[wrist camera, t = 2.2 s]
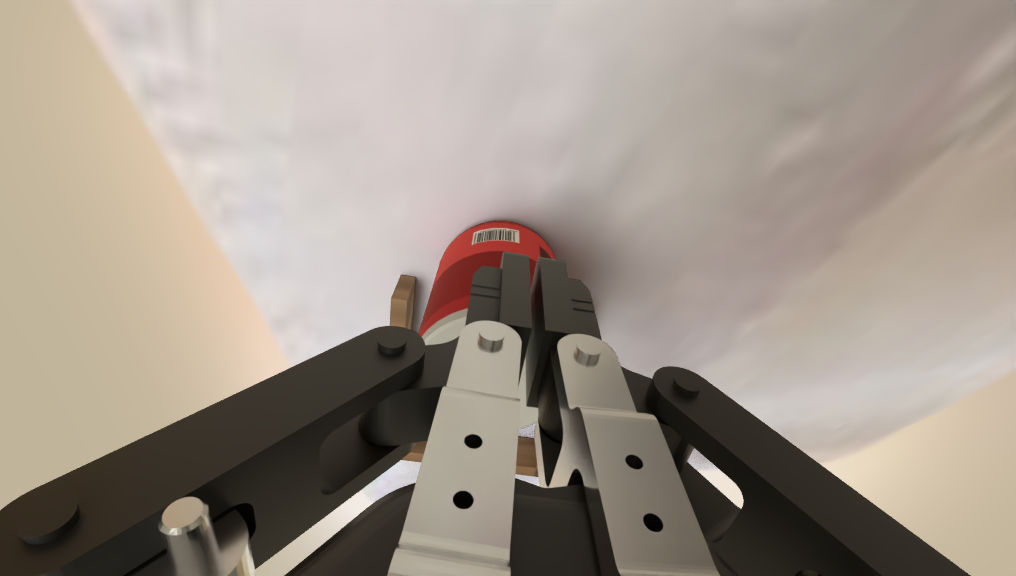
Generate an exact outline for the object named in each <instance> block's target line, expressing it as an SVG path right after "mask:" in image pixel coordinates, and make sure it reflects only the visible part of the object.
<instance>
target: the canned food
mask: <svg viewBox="0 0 1016 576" xmlns="http://www.w3.org/2000/svg"><path fill="white" fill-rule="evenodd" d="M503 251H504V252H511V253H517V254H524V255H529V266H530V290H531V285H532V281H533V276H534V271H535V267H536V263H537V259H538V257H543V258H550V259H555V256H554V254H553V252H552V250H551V249H550V247H549V246H548V244H547V243H546V242H545V241H544V240H543V239H542V238H541V237H540V236H539V235H538V234H536V233H535V232H534V231H532V230H530V229H529V228H527V227H525V226H522V225H519V224H517V223H512V222H506V221H493V222H488V223H482V224H480V225H477V226H474V227H472V228H470V229H469V230H467V231H465V232H464V233H462V234H461V235H459V236H458V237H457V238H456V239H455V240H454V241H453V242H452V243H451V244H450V245H449V247H448V248H447V249H446V251H445V252H444V254H443V257H442V259H441V261H440V265H439V268H438V271H437V274H436V278H435V281H434V284H433V288H432V291H431V294H430V297H429V301H428V304H427V307H426V311H425V314H424V317H423V320H422V324H421V327H420V330H419V335H420V336H421V337H422V338H423V340H424V342H425V345H433V344H442V343H446V342H449V341H452V340H454V339H455V338H457V337H458V336H460V333H461V331H462V329H463V328H464V327H465V323H466V317H467V311H468V305H469V298H470V292H471V286H472V280H473V274H474V273H475V272H476V271H477V270H478V269H479V268H480V267H481V266H489V267H495V268H500V266H501V260H502V255H503ZM517 399H520V417H519V429H522V428H525V427H528V426H530V425H532V424H534V423H536V422H537V419H538V408H534V407H527V406H526V360H524V365H523V369H522V373H521V378H520V382H519V386H518V395H517Z"/></svg>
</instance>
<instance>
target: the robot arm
mask: <svg viewBox="0 0 1016 576" xmlns="http://www.w3.org/2000/svg"><path fill="white" fill-rule="evenodd" d="M594 312H595V310H594V306H593V304H592V298H591V294H590V291H589V290H588V289H587V287H586V286H585V285H584V284H583V283H582V282H581V281H580V280H574V279H568V277H567V271H566V266H565V261H563V260H556V259H550V258H543V257H538V259H537V263H536V267H535V271H534V276H533V281H532V285H531V290H530V266H529V255H524V254H517V253H511V252H504V251H503V255H502V260H501V266H500V268H495V267H489V266H481V267H480V268H479V269H478V270H477V271H476V272H475V273H474V274H473V280H472V286H471V292H470V298H469V305H468V311H467V317H466V323H465V327H464V328H463V329H462V331H461V333H460V336H458V337H457V338H455V339H454V340H452V341H449V342H446V343H442V344H433V345H425V342H424V340H423V338H422V337H421V336H420V335H419V334H417V333H416V332H414V331H413V330H410V329H408V328H404V327H399V326H384V327H378V328H375V329H372V330H370V331H368V332H365V333H363V334H361V335H359V336H357V337H355V338H353V339H351V340H349V341H346V342H344V343H342V344H340V345H338V346H336V347H334V348H332V349H329V350H327V351H325V352H323V353H321V354H319V355H317V356H315V357H313V358H310V359H308V360H306V361H304V362H302V363H300V364H298V365H296V366H293V367H291V368H289V369H287V370H285V371H283V372H281V373H279V374H277V375H275V376H273V377H270V378H268V379H266V380H264V381H262V382H260V383H258V384H255V385H253V386H251V387H249V388H247V389H245V390H243V391H241V392H239V393H236V394H234V395H232V396H230V397H228V398H226V399H224V400H221V401H219V402H217V403H215V404H213V405H211V406H209V407H207V408H205V409H202V410H200V411H198V412H196V413H194V414H192V415H190V416H188V417H186V418H183V419H181V420H180V421H177V422H175V423H173V424H171V425H169V426H166V427H164V428H162V429H161V430H158V431H156V432H154V433H152V434H150V435H147V436H145V437H143V438H141V439H139V440H137V441H135V442H133V443H131V444H128V445H126V446H124V447H122V448H120V449H118V450H116V451H113V452H112V453H109V454H107V455H105V456H103V457H101V458H99V459H97V460H94V461H92V462H90V463H88V464H86V465H84V466H82V467H80V468H77V469H76V470H73V471H71V472H69V473H67V474H65V475H63V476H61V477H58V478H57V479H54V480H52V481H50V482H48V483H46V484H44V485H41V486H39V487H37V488H35V489H33V490H31V491H29V492H27V493H26V494H24V495H22V496H20V497H18V498H17V499H16V500H14V501H12V502H11V503H9V504H8V505H7V506H5V507H4V508H3V509H1V510H0V576H255V569H256V568H258V567H259V566H260V565H262V564H263V563H264V562H265V561H267V560H268V559H270V558H271V557H272V556H274V555H275V554H276V553H278V552H279V551H280V550H282V549H283V548H284V547H286V546H287V545H288V544H289V543H291V542H292V541H294V540H295V539H296V538H297V537H299V536H300V535H301V534H303V533H304V532H305V531H307V530H308V529H309V528H311V527H312V526H313V525H315V524H316V523H317V522H319V521H320V520H321V519H323V518H324V517H325V516H327V515H328V514H329V513H331V512H332V511H333V510H335V509H336V508H337V507H339V506H340V505H341V504H343V503H344V502H345V501H347V500H348V499H349V498H351V497H352V496H353V495H354V494H356V493H357V492H359V491H360V490H361V489H363V488H364V487H365V486H367V485H368V484H369V483H371V482H372V481H373V480H375V479H376V478H377V477H379V476H380V475H381V474H383V473H384V472H385V471H387V470H388V469H389V468H391V467H392V466H393V465H395V464H396V463H397V462H399V461H400V460H401V459H403V458H404V457H405V456H407V455H408V454H409V453H410V452H411V451H412V450H413V448H414V446H415V445H416V442H423V441H427V445H426V448H425V452H424V456H423V459H422V463H421V466H420V470H419V474H418V477H417V481H416V483H413V484H410V485H407V486H404V487H402V488H399V489H397V490H395V491H393V492H391V493H389V494H387V495H385V496H384V497H382V498H381V499H379V500H377V501H376V502H374V503H373V504H372V505H371V506H369V507H368V508H366V509H365V510H364V511H363V512H362V513H360V514H359V515H358V516H357V517H356V518H354V519H353V520H352V521H351V522H349V523H348V524H347V525H346V526H344V527H343V528H342V529H341V530H340V531H338V532H337V533H336V534H335V535H333V536H332V537H331V538H330V539H329V540H327V541H326V542H325V543H324V544H323V545H321V546H320V547H319V548H318V549H316V550H315V551H314V552H313V553H312V554H310V555H309V556H308V557H307V558H306V559H304V560H303V561H302V562H301V563H299V564H298V565H297V566H296V567H295V568H293V569H292V570H291V571H290V572H288V573H287V574H286V575H285V576H970V575H969V574H968V573H966V572H965V571H964V570H962V569H960V568H959V567H958V566H957V565H955V564H954V563H953V562H951V561H950V560H949V559H947V558H946V557H945V556H943V555H942V554H940V553H939V552H938V551H936V550H935V549H934V548H932V547H931V546H929V545H928V544H927V543H926V542H924V541H923V540H922V539H920V538H919V537H917V536H916V535H915V534H913V533H912V532H911V531H909V530H908V529H907V528H905V527H904V526H903V525H901V524H900V523H899V522H897V521H896V520H895V519H893V518H892V517H890V516H889V515H888V514H886V513H885V512H883V511H882V510H881V509H880V508H878V507H877V506H876V505H874V504H873V503H871V502H870V501H869V500H867V499H866V498H865V497H863V496H862V495H861V494H859V493H858V492H857V491H855V490H854V489H853V488H851V487H850V486H849V485H847V484H846V483H844V482H843V481H842V480H840V479H839V478H838V477H836V476H835V475H834V474H832V473H831V472H829V471H828V470H827V469H826V468H824V467H823V466H822V465H820V464H819V463H817V462H816V461H815V460H813V459H812V458H811V457H809V456H808V455H807V454H805V453H804V452H803V451H801V450H800V449H799V448H797V447H796V446H794V445H793V444H792V443H790V442H789V441H788V440H786V439H785V438H784V437H782V436H781V435H780V434H778V433H777V432H776V431H774V430H773V429H771V428H770V427H769V426H767V425H766V424H765V423H763V422H762V421H761V420H759V419H758V418H757V417H755V416H754V415H753V414H751V413H750V412H748V411H747V410H746V409H744V408H743V407H742V406H740V405H739V404H738V403H736V402H735V401H734V400H732V399H731V398H730V397H728V396H727V395H725V394H724V393H723V392H721V391H720V390H719V389H717V388H716V387H715V386H713V385H712V384H711V383H709V382H708V381H707V380H705V379H704V378H702V377H701V376H699V375H698V374H696V373H694V372H692V371H689V370H687V369H684V368H679V367H663V368H660V369H658V370H657V371H656V372H655V374H654V376H653V378H652V379H651V378H648V377H645V376H643V375H640V374H637V373H634V372H632V371H629V370H627V369H625V368H623V367H622V366H620V363H619V360H618V358H617V355H616V353H615V351H614V350H613V349H612V348H611V347H610V346H609V345H608V344H607V343H605V342H604V341H602V339H601V335H600V331H599V327H598V323H597V319H596V314H595V313H594ZM524 360H526V406H527V407H534V408H538V419H537V422H536V426H535V430H534V438H535V448H536V457H537V467H538V476H539V486H540V487H539V486H536V485H533V484H531V483H528V482H525V481H522V480H519V479H516V478H515V472H516V458H517V445H518V431H519V417H520V399H517V395H518V386H519V382H520V378H521V373H522V369H523V365H524ZM694 448H695V449H696V450H698V451H699V452H700V453H701V454H702V455H703V456H705V457H706V458H707V459H708V460H709V461H710V462H712V463H713V464H714V465H715V466H716V467H717V468H719V469H720V470H721V471H722V472H723V473H724V474H726V475H727V476H728V477H729V478H730V479H731V480H732V481H734V482H735V483H736V485H737V486H738V487H739V488H740V490H741V492H742V495H743V499H744V503H743V507H742V509H740V508H739V507H737V506H736V505H735V504H734V503H733V502H731V501H730V500H729V499H728V498H727V497H726V496H725V495H724V494H722V493H721V492H720V491H719V490H718V489H717V488H716V487H715V486H713V485H712V484H711V483H710V482H709V481H708V480H707V479H706V478H705V477H703V476H702V475H701V474H700V473H699V472H698V471H697V470H696V469H694V468H693V467H692V466H691V465H690V464H689V463H688V462H687V460H688V458H689V457H690V455H691V453H692V451H693V449H694Z"/></svg>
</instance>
